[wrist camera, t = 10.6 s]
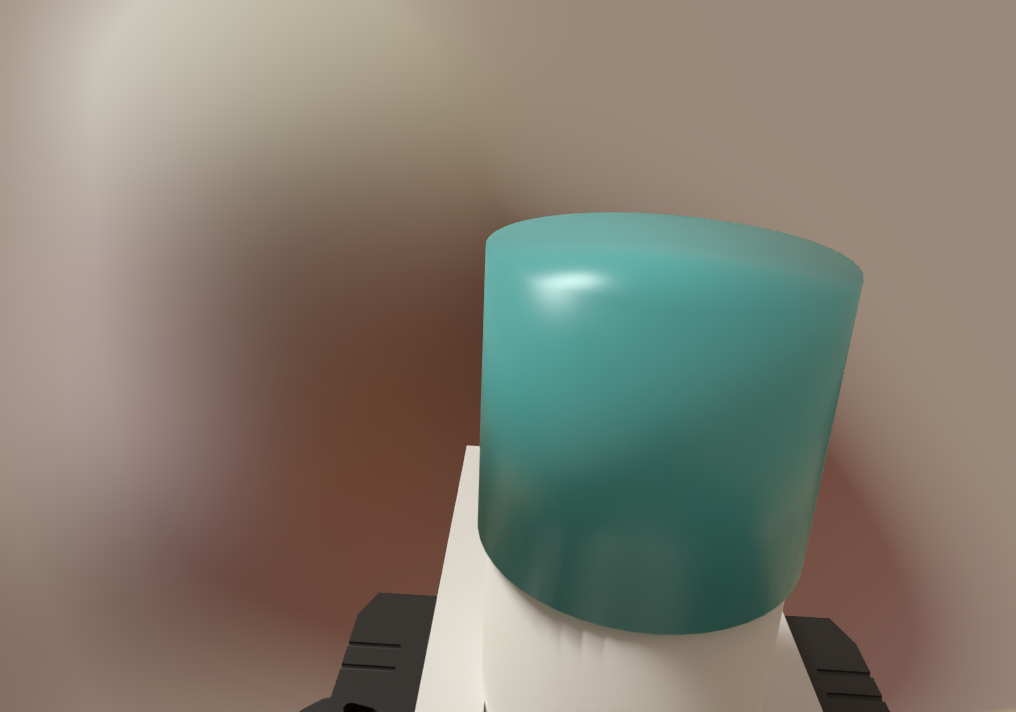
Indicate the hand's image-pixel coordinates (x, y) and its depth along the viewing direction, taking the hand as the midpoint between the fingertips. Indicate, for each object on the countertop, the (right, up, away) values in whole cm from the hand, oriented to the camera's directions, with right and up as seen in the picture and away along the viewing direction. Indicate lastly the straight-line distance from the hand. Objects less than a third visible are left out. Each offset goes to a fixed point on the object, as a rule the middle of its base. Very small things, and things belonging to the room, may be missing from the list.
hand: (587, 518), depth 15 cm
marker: (-1, -9, -2) cm, 9 cm away
